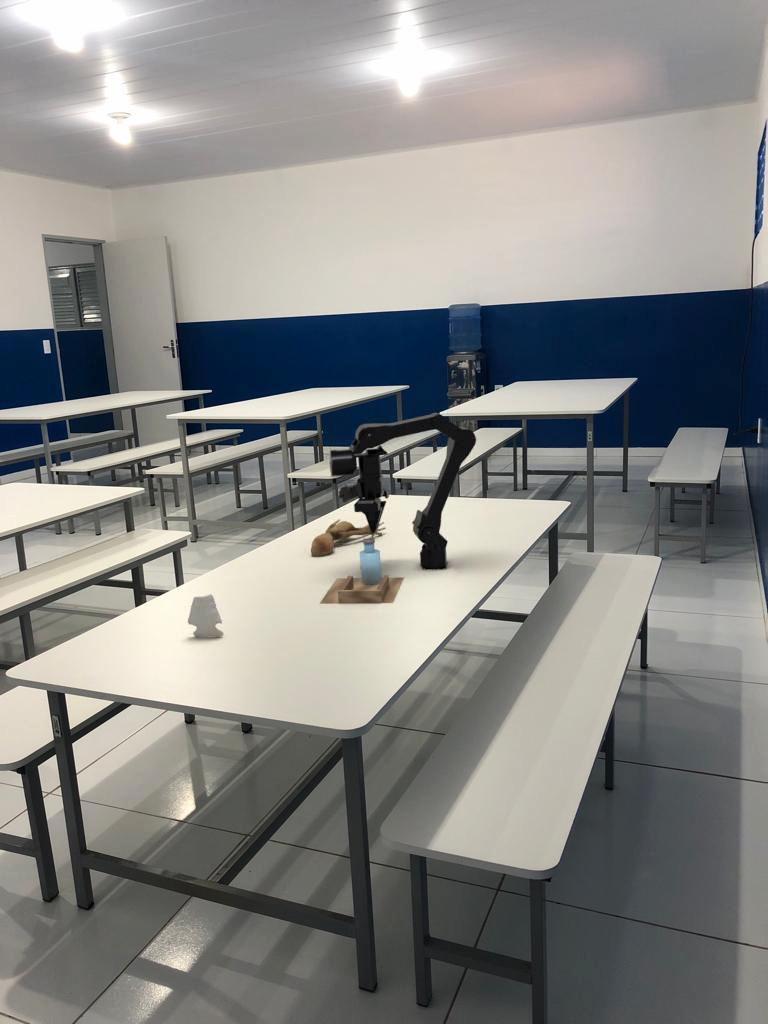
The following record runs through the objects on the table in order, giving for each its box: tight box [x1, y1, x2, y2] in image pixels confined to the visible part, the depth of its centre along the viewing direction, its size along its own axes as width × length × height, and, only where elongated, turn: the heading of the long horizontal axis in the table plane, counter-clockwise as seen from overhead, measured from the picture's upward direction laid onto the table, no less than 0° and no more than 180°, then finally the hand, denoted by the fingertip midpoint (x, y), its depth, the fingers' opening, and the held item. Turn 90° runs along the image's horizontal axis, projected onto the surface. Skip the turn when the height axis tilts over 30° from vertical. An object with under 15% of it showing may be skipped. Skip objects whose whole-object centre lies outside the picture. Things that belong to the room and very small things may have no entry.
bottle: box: [359, 537, 383, 585], centre depth 216 cm, size 5×5×11 cm
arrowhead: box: [187, 593, 224, 638], centre depth 186 cm, size 8×2×10 cm, turn 81°
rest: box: [319, 574, 405, 605], centre depth 211 cm, size 18×20×4 cm
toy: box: [310, 519, 386, 557], centre depth 259 cm, size 17×8×30 cm
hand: (374, 530), depth 223 cm, fingers open, 3 cm apart
